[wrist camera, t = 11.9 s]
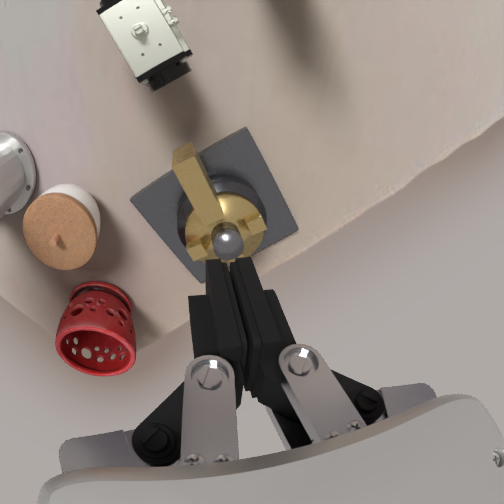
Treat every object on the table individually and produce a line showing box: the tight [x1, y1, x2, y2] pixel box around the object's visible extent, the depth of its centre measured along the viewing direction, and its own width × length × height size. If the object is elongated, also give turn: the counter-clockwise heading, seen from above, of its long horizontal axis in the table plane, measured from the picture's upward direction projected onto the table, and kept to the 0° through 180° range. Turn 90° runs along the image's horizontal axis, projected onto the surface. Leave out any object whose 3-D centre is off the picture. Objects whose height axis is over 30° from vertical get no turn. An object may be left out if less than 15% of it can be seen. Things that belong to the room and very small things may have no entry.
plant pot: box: [55, 281, 136, 376], centre depth 42 cm, size 13×13×12 cm
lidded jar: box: [23, 184, 101, 270], centre depth 32 cm, size 11×11×9 cm
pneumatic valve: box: [96, 0, 193, 92], centre depth 21 cm, size 6×12×12 cm, turn 25°
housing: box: [130, 127, 299, 283], centre depth 40 cm, size 18×18×4 cm
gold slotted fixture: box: [172, 142, 267, 266], centre depth 34 cm, size 17×10×6 cm, turn 21°
